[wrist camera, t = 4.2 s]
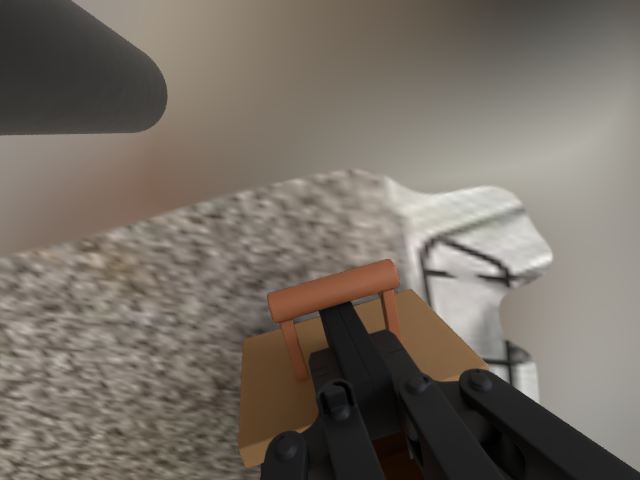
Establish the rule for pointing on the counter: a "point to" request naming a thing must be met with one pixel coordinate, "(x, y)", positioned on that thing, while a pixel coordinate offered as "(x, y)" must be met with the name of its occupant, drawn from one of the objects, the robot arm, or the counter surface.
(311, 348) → the drawer
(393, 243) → the counter surface
